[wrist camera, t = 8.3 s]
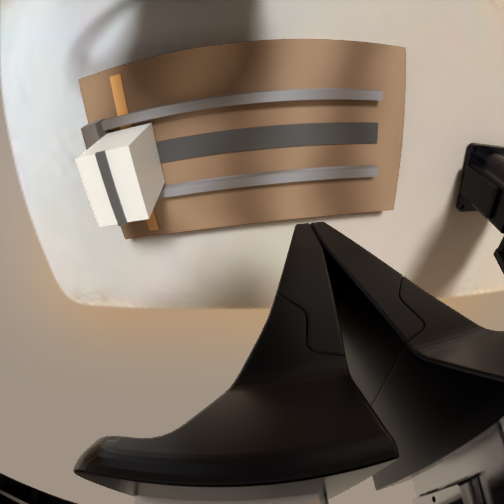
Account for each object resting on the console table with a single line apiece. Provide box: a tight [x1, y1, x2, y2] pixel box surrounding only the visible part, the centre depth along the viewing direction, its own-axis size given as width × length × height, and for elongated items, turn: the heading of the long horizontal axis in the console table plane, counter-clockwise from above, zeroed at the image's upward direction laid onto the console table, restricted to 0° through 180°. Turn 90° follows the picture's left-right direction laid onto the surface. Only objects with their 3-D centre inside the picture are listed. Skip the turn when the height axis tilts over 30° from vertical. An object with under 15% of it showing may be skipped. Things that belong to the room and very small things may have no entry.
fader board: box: [79, 39, 406, 239], centre depth 17 cm, size 20×12×3 cm, turn 95°
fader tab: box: [75, 123, 165, 227], centre depth 15 cm, size 3×4×5 cm
